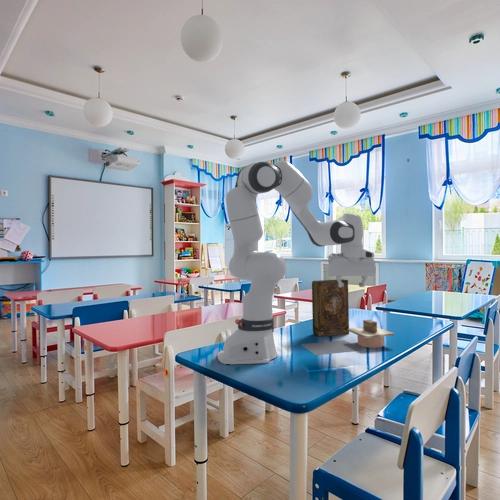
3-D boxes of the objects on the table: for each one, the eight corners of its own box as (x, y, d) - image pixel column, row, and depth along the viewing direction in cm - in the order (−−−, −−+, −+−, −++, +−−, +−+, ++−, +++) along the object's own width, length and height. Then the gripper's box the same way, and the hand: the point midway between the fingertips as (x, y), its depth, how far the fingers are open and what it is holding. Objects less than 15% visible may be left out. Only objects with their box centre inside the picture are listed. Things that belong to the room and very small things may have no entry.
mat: (315, 356, 128) (315, 355, 128) (300, 345, 143) (300, 344, 143) (364, 351, 133) (364, 350, 133) (344, 341, 147) (344, 340, 147)
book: (344, 332, 163) (343, 279, 163) (351, 334, 158) (349, 280, 158) (312, 335, 159) (311, 280, 159) (318, 338, 154) (317, 281, 154)
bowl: (366, 349, 135) (366, 336, 135) (353, 343, 144) (352, 331, 144) (389, 347, 137) (388, 334, 137) (374, 341, 147) (374, 329, 147)
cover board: (364, 338, 133) (364, 325, 133) (347, 330, 146) (347, 319, 146) (394, 335, 136) (394, 323, 136) (374, 328, 149) (374, 317, 149)
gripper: (332, 253, 137) (331, 287, 137) (377, 253, 142) (377, 287, 142) (325, 253, 144) (324, 286, 143) (369, 253, 148) (369, 286, 148)
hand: (351, 287), depth 143 cm, fingers open, 8 cm apart
